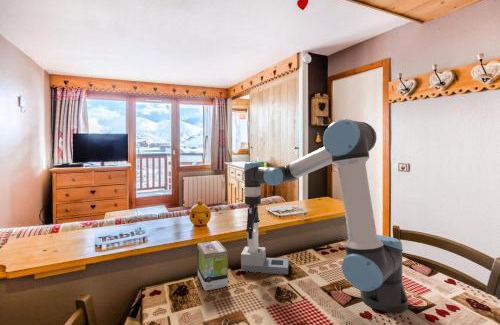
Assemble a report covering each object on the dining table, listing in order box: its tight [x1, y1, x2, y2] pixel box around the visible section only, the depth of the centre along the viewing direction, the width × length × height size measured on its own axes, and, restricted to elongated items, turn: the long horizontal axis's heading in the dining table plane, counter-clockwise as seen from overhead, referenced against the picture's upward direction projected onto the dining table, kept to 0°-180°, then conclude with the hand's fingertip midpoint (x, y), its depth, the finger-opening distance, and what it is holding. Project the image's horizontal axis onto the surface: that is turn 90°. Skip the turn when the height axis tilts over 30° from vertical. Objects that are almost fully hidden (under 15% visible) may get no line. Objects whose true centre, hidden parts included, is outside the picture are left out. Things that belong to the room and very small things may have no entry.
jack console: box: [240, 246, 290, 275], centre depth 124 cm, size 10×21×8 cm, turn 80°
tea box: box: [196, 240, 229, 291], centre depth 112 cm, size 15×10×15 cm, turn 22°
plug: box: [246, 229, 259, 253], centre depth 124 cm, size 4×5×12 cm
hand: (253, 240), depth 124 cm, fingers open, 13 cm apart
